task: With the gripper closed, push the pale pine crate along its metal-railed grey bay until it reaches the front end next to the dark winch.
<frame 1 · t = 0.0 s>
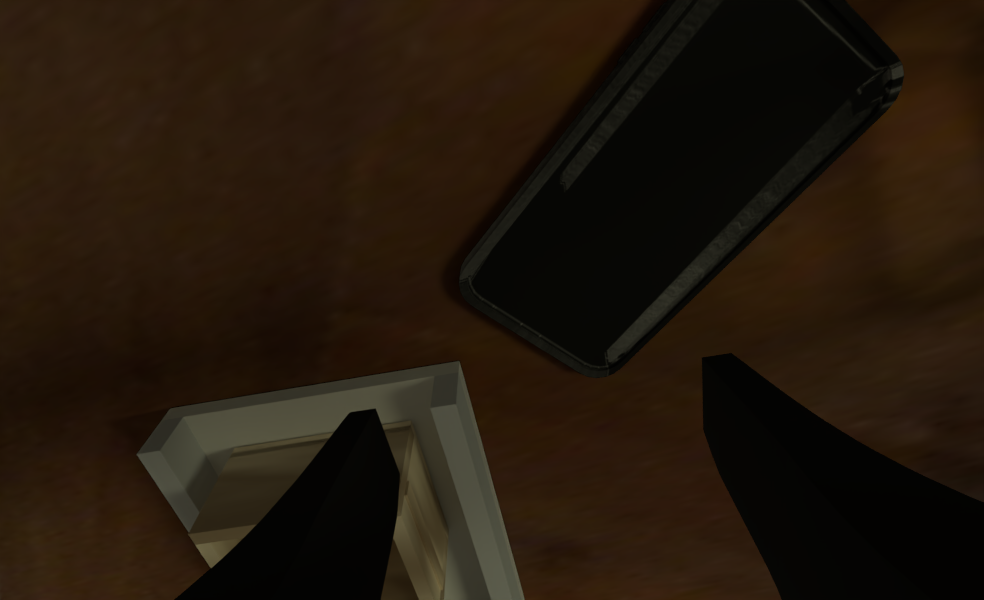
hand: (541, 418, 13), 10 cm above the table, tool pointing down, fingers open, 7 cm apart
phone: (651, 181, 21), on the table
bay: (369, 519, 29), on the table
crate: (335, 531, 25), point 3 cm above the table, slide at 6.0 cm
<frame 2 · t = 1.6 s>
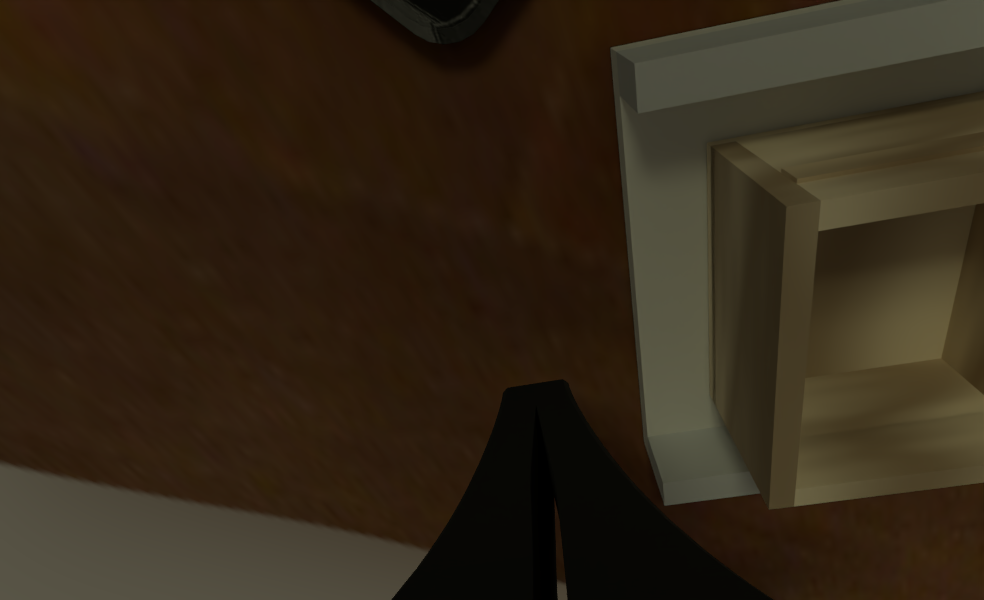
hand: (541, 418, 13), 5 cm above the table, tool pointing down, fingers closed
bay: (931, 230, 17), on the table
crate: (885, 302, 14), point 3 cm above the table, slide at 6.0 cm
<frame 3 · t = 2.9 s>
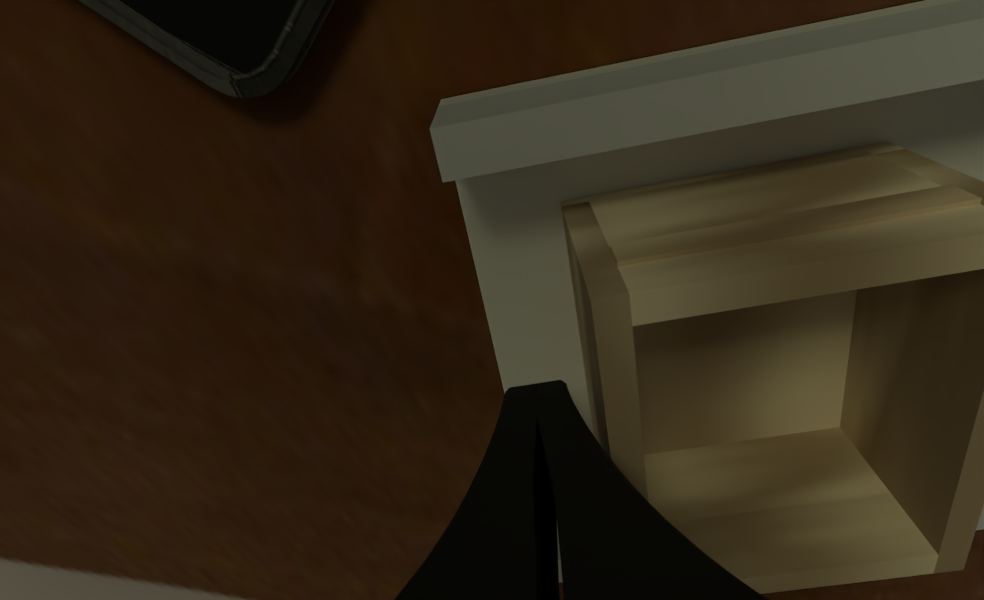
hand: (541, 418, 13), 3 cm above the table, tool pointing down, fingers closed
bay: (817, 289, 15), on the table
crate: (756, 380, 13), point 3 cm above the table, slide at 5.8 cm, touching gripper
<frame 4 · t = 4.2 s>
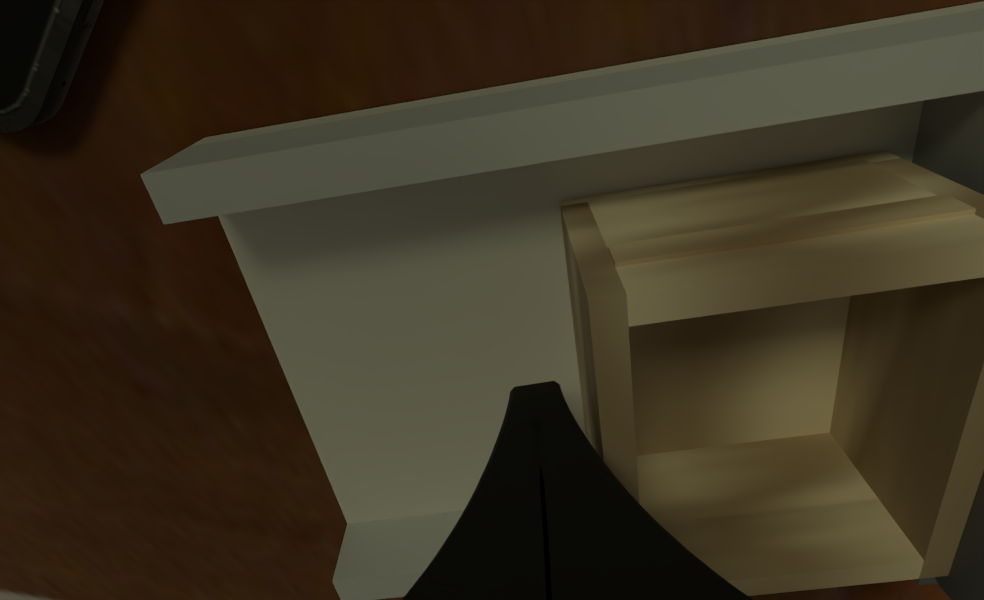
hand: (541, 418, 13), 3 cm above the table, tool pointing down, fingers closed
bay: (601, 325, 16), on the table
crate: (748, 384, 13), point 3 cm above the table, slide at 0.3 cm, touching bay, gripper
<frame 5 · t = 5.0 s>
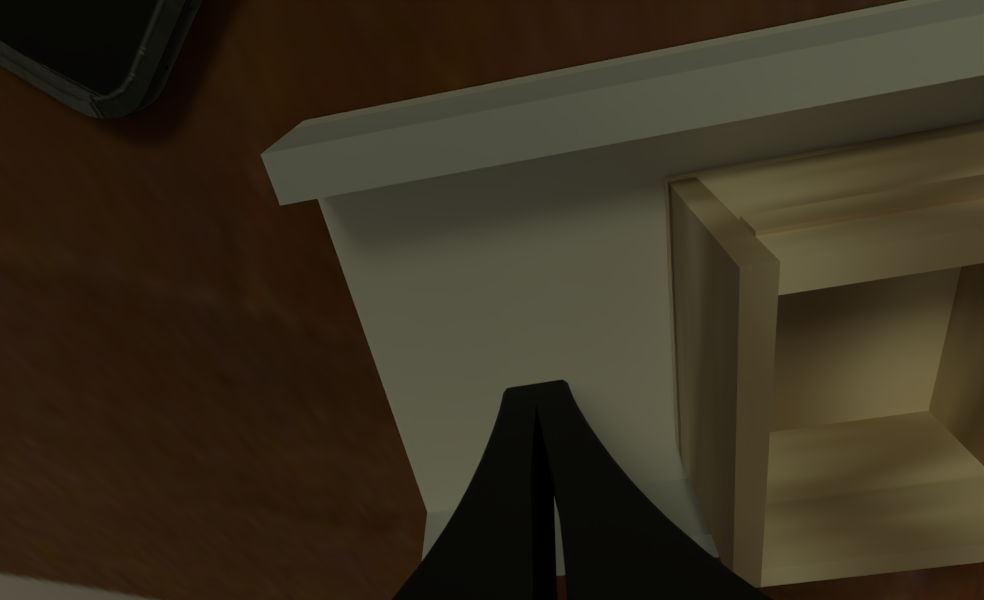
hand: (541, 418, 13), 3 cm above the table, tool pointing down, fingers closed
bay: (692, 305, 15), on the table
crate: (864, 359, 12), point 3 cm above the table, slide at 0.3 cm, touching bay
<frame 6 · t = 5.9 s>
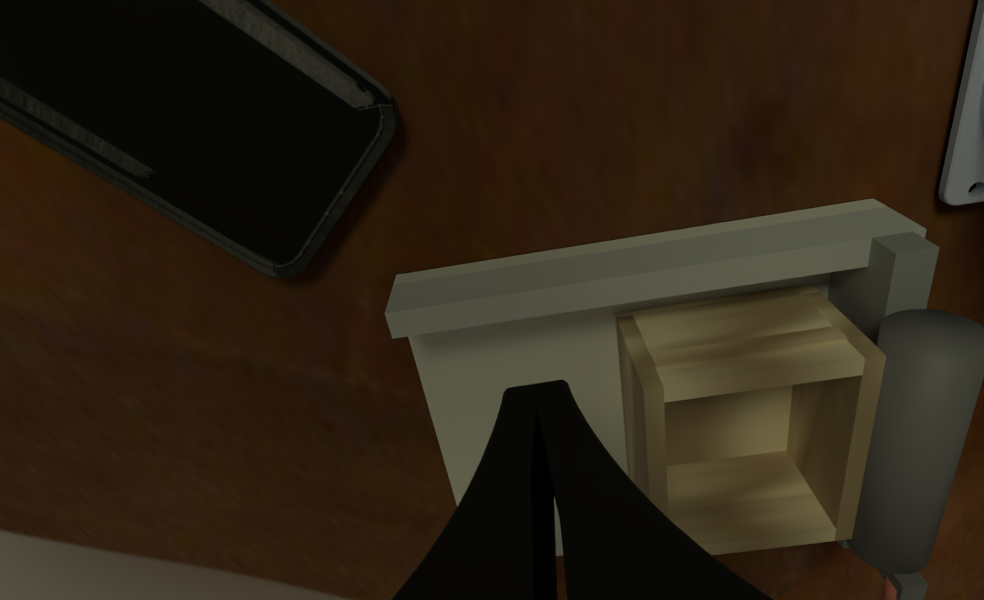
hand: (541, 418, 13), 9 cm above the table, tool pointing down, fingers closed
phone: (147, 58, 18), on the table
bay: (636, 381, 24), on the table
crate: (731, 424, 21), point 3 cm above the table, slide at 0.3 cm, touching bay
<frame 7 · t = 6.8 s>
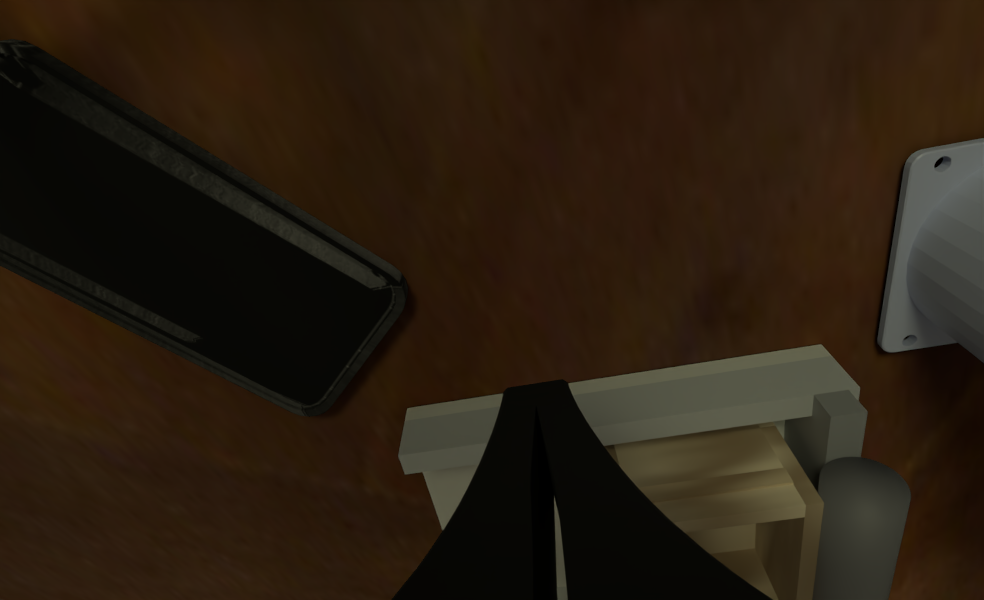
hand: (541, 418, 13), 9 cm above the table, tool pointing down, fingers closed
phone: (194, 246, 22), on the table
bay: (620, 488, 27), on the table
crate: (701, 537, 24), point 3 cm above the table, slide at 0.3 cm, touching bay
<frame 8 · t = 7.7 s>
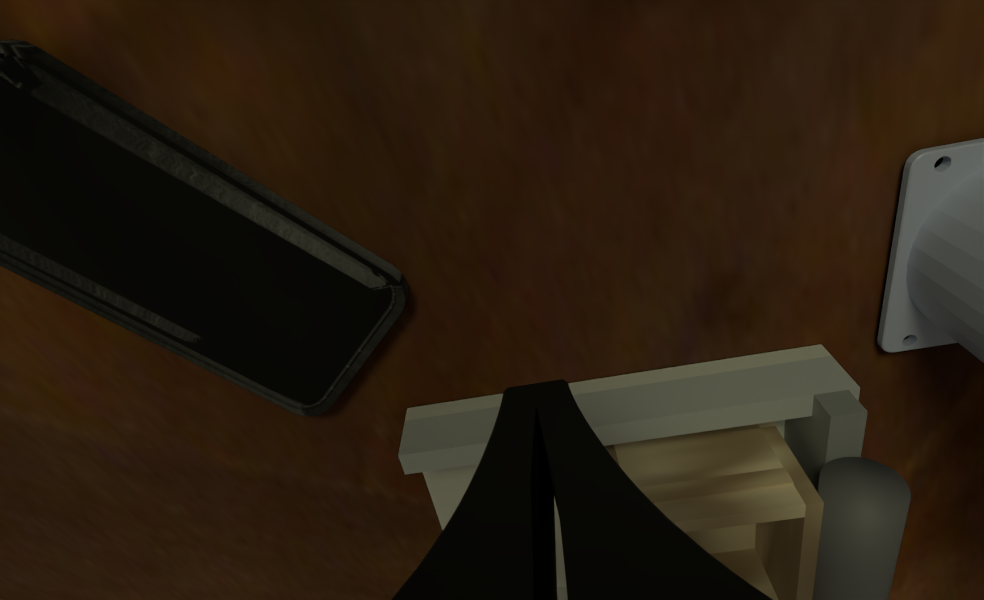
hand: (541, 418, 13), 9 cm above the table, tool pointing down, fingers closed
phone: (194, 246, 22), on the table
bay: (620, 488, 27), on the table
crate: (701, 537, 24), point 3 cm above the table, slide at 0.3 cm, touching bay
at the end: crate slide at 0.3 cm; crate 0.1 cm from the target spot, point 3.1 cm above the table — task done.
